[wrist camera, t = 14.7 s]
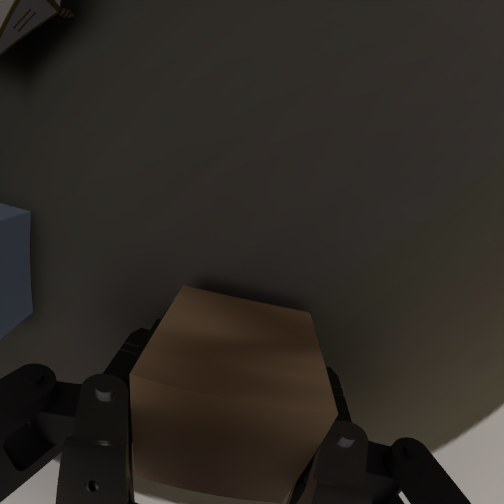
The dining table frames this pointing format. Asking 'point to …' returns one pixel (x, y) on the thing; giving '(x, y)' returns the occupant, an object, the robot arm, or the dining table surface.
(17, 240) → the blue block
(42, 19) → the game die
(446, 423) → the dining table surface
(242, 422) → the walnut block
